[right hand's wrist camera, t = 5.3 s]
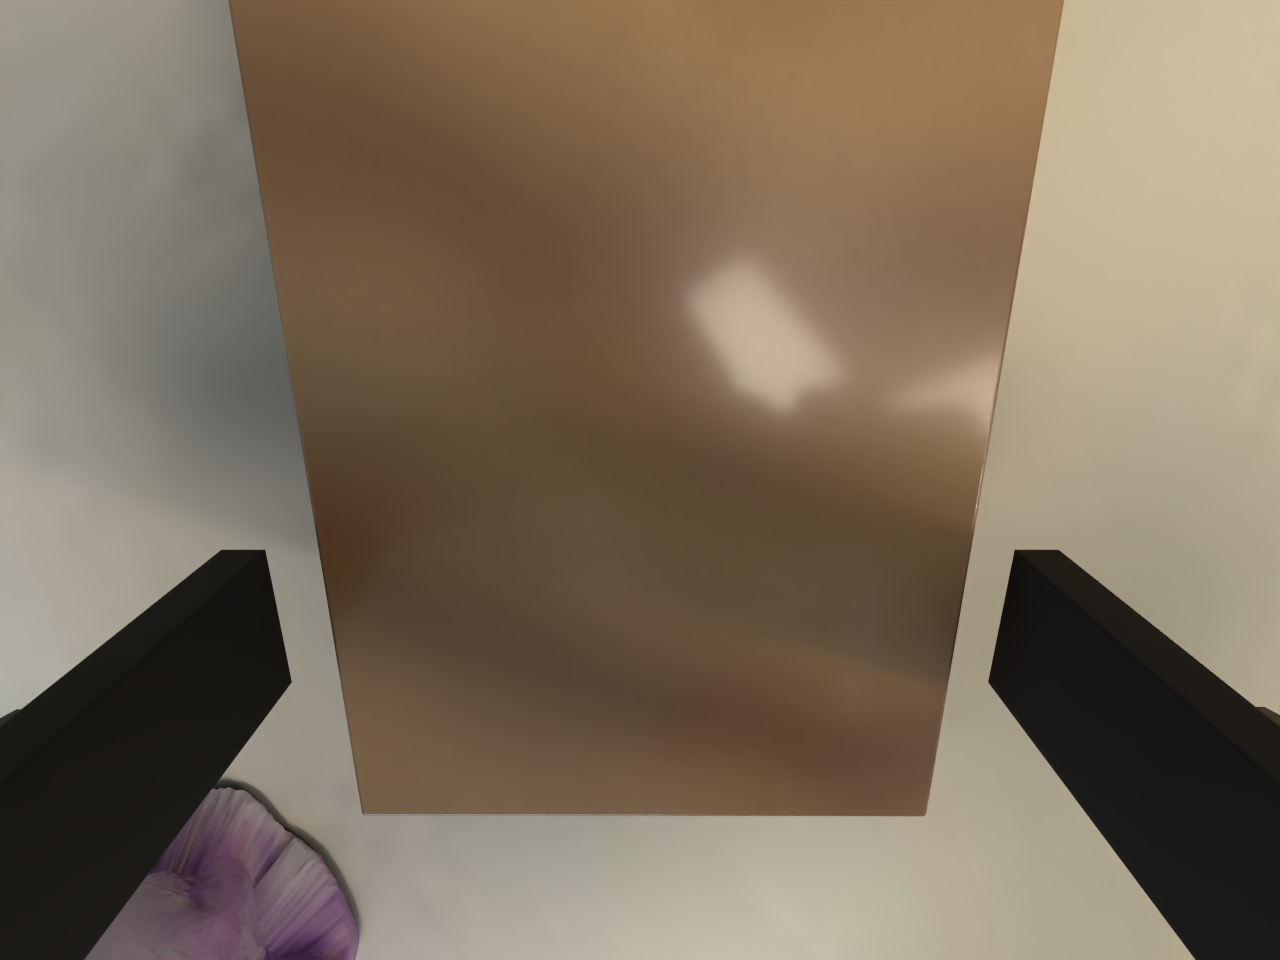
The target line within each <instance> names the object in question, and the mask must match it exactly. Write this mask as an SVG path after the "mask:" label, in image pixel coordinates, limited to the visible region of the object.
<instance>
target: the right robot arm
mask: <svg viewBox="0 0 1280 960" xmlns="http://www.w3.org/2000/svg"><path fill="white" fill-rule="evenodd" d="M291 683H292V681H291V676H290V671H289V666H288V661H287V656H286V651H285V646H284V641H283V636H282V631H281V626H280V621H279V616H278V611H277V606H276V601H275V596H274V591H273V586H272V581H271V576H270V571H269V566H268V561H267V556H266V551H265V550H221V551H219V552H218V553H217V554H216V555H214V556H213V557H212V558H211V559H209V560H208V561H207V562H206V563H204V564H203V565H202V566H201V567H199V568H198V569H197V570H196V571H194V572H193V573H192V574H191V575H189V576H188V577H187V578H186V579H184V580H183V581H182V582H181V583H179V584H178V585H177V586H176V587H174V588H173V589H172V590H171V591H169V592H168V593H167V594H166V595H164V596H163V597H162V598H161V599H159V600H158V601H157V602H155V603H154V604H153V605H152V606H150V607H149V608H148V609H147V610H145V611H144V612H143V613H142V614H140V615H139V616H138V617H137V618H135V619H134V620H133V621H132V622H130V623H129V624H128V625H127V626H125V627H124V628H123V629H122V630H120V631H119V632H118V633H117V634H115V635H114V636H113V637H112V638H110V639H109V640H108V641H107V642H105V643H104V644H103V645H102V646H100V647H99V648H98V649H97V650H95V651H94V652H93V653H92V654H90V655H89V656H88V657H87V658H85V659H84V660H83V661H82V662H80V663H79V664H78V665H76V666H75V667H74V668H73V669H71V670H70V671H69V672H68V673H66V674H65V675H64V676H63V677H61V678H60V679H59V680H58V681H56V682H55V683H54V684H53V685H51V686H50V687H49V688H48V689H46V690H45V691H44V692H43V693H41V694H40V695H39V696H38V697H36V698H35V699H34V700H33V701H31V702H30V703H29V704H28V705H26V706H25V707H24V708H23V709H21V710H15V711H13V712H11V713H9V714H7V715H5V716H3V717H2V718H0V960H85V958H86V957H87V956H88V954H89V953H90V952H91V950H92V949H93V948H94V946H95V945H96V944H97V942H98V941H99V939H100V938H101V937H102V935H103V934H104V933H105V931H106V930H107V929H108V927H109V926H110V925H111V923H112V922H113V921H114V919H115V918H116V917H117V915H118V914H119V913H120V911H121V910H122V909H123V907H124V906H125V905H126V903H127V902H128V901H129V899H130V898H131V897H132V895H133V894H134V893H135V891H136V890H137V889H138V887H139V886H140V885H141V883H142V882H143V881H144V879H145V878H146V877H147V875H148V874H149V873H150V871H151V870H152V869H153V867H154V866H155V865H156V863H157V862H158V861H159V859H160V858H161V857H162V855H163V854H164V852H165V851H166V850H167V848H168V847H169V846H170V844H171V843H172V842H173V840H174V839H175V838H176V836H177V835H178V834H179V832H180V831H181V830H182V828H183V827H184V826H185V824H186V823H187V822H188V820H189V819H190V818H191V816H192V815H193V814H194V812H195V811H196V810H197V808H198V807H199V806H200V804H201V803H202V802H203V800H204V799H205V798H206V796H207V795H208V794H209V792H210V791H211V790H212V788H213V787H214V786H215V784H216V783H217V782H218V780H219V779H220V778H221V776H222V775H223V774H224V772H225V771H226V770H227V768H228V767H229V766H230V764H231V763H232V761H233V760H234V759H235V757H236V756H237V755H238V753H239V752H240V751H241V749H242V748H243V747H244V745H245V744H246V743H247V741H248V740H249V739H250V737H251V736H252V735H253V733H254V732H255V731H256V729H257V728H258V727H259V725H260V724H261V723H262V721H263V720H264V719H265V717H266V716H267V715H268V713H269V712H270V711H271V709H272V708H273V707H274V705H275V704H276V703H277V701H278V700H279V699H280V697H281V696H282V695H283V693H284V692H285V691H286V689H287V688H288V687H289V685H290V684H291ZM988 683H989V684H990V685H991V687H992V688H993V689H994V691H995V692H996V693H997V695H998V696H999V697H1000V699H1001V700H1002V701H1003V703H1004V704H1005V705H1006V707H1007V708H1008V709H1009V711H1010V712H1011V713H1012V715H1013V716H1014V717H1015V719H1016V720H1017V721H1018V723H1019V724H1020V725H1021V727H1022V728H1023V729H1024V731H1025V732H1026V733H1027V735H1028V736H1029V737H1030V739H1031V740H1032V741H1033V743H1034V744H1035V745H1036V747H1037V748H1038V749H1039V751H1040V752H1041V753H1042V755H1043V756H1044V757H1045V759H1046V760H1047V761H1048V763H1049V764H1050V766H1051V767H1052V768H1053V770H1054V771H1055V772H1056V774H1057V775H1058V776H1059V778H1060V779H1061V780H1062V782H1063V783H1064V784H1065V786H1066V787H1067V788H1068V790H1069V791H1070V792H1071V794H1072V795H1073V796H1074V798H1075V799H1076V800H1077V802H1078V803H1079V804H1080V806H1081V807H1082V808H1083V810H1084V811H1085V812H1086V814H1087V815H1088V816H1089V818H1090V819H1091V820H1092V822H1093V823H1094V824H1095V826H1096V827H1097V828H1098V830H1099V831H1100V832H1101V834H1102V835H1103V836H1104V838H1105V839H1106V840H1107V842H1108V843H1109V844H1110V846H1111V847H1112V848H1113V850H1114V851H1115V852H1116V854H1117V855H1118V857H1119V858H1120V859H1121V861H1122V862H1123V863H1124V865H1125V866H1126V867H1127V869H1128V870H1129V871H1130V873H1131V874H1132V875H1133V877H1134V878H1135V879H1136V881H1137V882H1138V883H1139V885H1140V886H1141V887H1142V889H1143V890H1144V891H1145V893H1146V894H1147V895H1148V897H1149V898H1150V899H1151V901H1152V902H1153V903H1154V905H1155V906H1156V907H1157V909H1158V910H1159V911H1160V913H1161V914H1162V915H1163V917H1164V918H1165V919H1166V921H1167V922H1168V923H1169V925H1170V926H1171V927H1172V929H1173V930H1174V931H1175V933H1176V934H1177V935H1178V937H1179V938H1180V939H1181V941H1182V942H1183V944H1184V945H1185V946H1186V948H1187V949H1188V950H1189V952H1190V953H1191V954H1192V956H1193V957H1194V958H1195V960H1280V715H1279V714H1277V713H1275V712H1273V711H1271V710H1269V709H1267V708H1265V707H1255V706H1254V705H1252V704H1251V703H1250V702H1249V701H1247V700H1246V699H1245V698H1244V697H1242V696H1241V695H1240V694H1239V693H1237V692H1236V691H1235V690H1234V689H1232V688H1231V687H1230V686H1229V685H1227V684H1226V683H1225V682H1224V681H1222V680H1221V679H1220V678H1219V677H1217V676H1216V675H1215V674H1214V673H1212V672H1211V671H1210V670H1209V669H1207V668H1206V667H1205V666H1204V665H1202V664H1201V663H1200V662H1198V661H1197V660H1196V659H1195V658H1193V657H1192V656H1191V655H1190V654H1188V653H1187V652H1186V651H1185V650H1183V649H1182V648H1181V647H1180V646H1178V645H1177V644H1176V643H1175V642H1173V641H1172V640H1171V639H1170V638H1168V637H1167V636H1166V635H1165V634H1163V633H1162V632H1161V631H1160V630H1158V629H1157V628H1156V627H1155V626H1153V625H1152V624H1151V623H1150V622H1148V621H1147V620H1146V619H1145V618H1143V617H1142V616H1141V615H1140V614H1138V613H1137V612H1136V611H1135V610H1133V609H1132V608H1131V607H1130V606H1128V605H1127V604H1126V603H1125V602H1123V601H1122V600H1121V599H1119V598H1118V597H1117V596H1116V595H1114V594H1113V593H1112V592H1111V591H1109V590H1108V589H1107V588H1106V587H1104V586H1103V585H1102V584H1101V583H1099V582H1098V581H1097V580H1096V579H1094V578H1093V577H1092V576H1091V575H1089V574H1088V573H1087V572H1086V571H1084V570H1083V569H1082V568H1081V567H1079V566H1078V565H1077V564H1076V563H1074V562H1073V561H1072V560H1071V559H1069V558H1068V557H1067V556H1066V555H1064V554H1063V553H1062V552H1061V551H1059V550H1015V551H1014V556H1013V561H1012V566H1011V571H1010V576H1009V581H1008V586H1007V591H1006V596H1005V601H1004V606H1003V611H1002V616H1001V621H1000V626H999V631H998V636H997V641H996V646H995V651H994V656H993V661H992V666H991V671H990V676H989V681H988Z"/></svg>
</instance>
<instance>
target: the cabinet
mask: <svg viewBox="0 0 1280 960" xmlns="http://www.w3.org/2000/svg"><path fill="white" fill-rule="evenodd" d="M1063 3H1064V0H229V6H230V12H231V18H232V24H233V30H234V36H235V42H236V48H237V54H238V60H239V66H240V73H241V79H242V85H243V91H244V97H245V103H246V109H247V115H248V121H249V127H250V133H251V139H252V146H253V152H254V158H255V164H256V170H257V176H258V182H259V188H260V194H261V200H262V206H263V212H264V218H265V225H266V231H267V237H268V243H269V249H270V255H271V261H272V267H273V273H274V279H275V285H276V291H277V297H278V304H279V310H280V316H281V322H282V328H283V334H284V340H285V346H286V352H287V358H288V364H289V370H290V377H291V383H292V389H293V395H294V401H295V407H296V413H297V419H298V425H299V431H300V437H301V443H302V449H303V456H304V462H305V468H306V474H307V480H308V486H309V492H310V498H311V504H312V510H313V516H314V522H315V528H316V535H317V541H318V547H319V553H320V559H321V565H322V571H323V577H324V583H325V589H326V595H327V601H328V608H329V614H330V620H331V626H332V632H333V638H334V644H335V650H336V656H337V662H338V668H339V674H340V680H341V687H342V693H343V699H344V705H345V711H346V717H347V723H348V729H349V735H350V741H351V747H352V753H353V760H354V766H355V772H356V778H357V784H358V790H359V796H360V802H361V808H362V813H363V814H364V815H540V816H925V815H926V811H927V805H928V799H929V793H930V787H931V781H932V776H933V770H934V764H935V758H936V752H937V746H938V740H939V734H940V728H941V722H942V717H943V711H944V705H945V699H946V693H947V687H948V681H949V675H950V669H951V663H952V658H953V652H954V646H955V640H956V634H957V628H958V622H959V616H960V610H961V604H962V599H963V593H964V587H965V581H966V575H967V569H968V563H969V557H970V551H971V546H972V540H973V534H974V528H975V522H976V516H977V510H978V504H979V498H980V492H981V487H982V481H983V475H984V469H985V463H986V457H987V451H988V445H989V439H990V433H991V428H992V422H993V416H994V410H995V404H996V398H997V392H998V386H999V380H1000V374H1001V369H1002V363H1003V357H1004V351H1005V345H1006V339H1007V333H1008V327H1009V321H1010V315H1011V310H1012V304H1013V298H1014V292H1015V286H1016V280H1017V274H1018V268H1019V262H1020V257H1021V251H1022V245H1023V239H1024V233H1025V227H1026V221H1027V215H1028V209H1029V203H1030V198H1031V192H1032V186H1033V180H1034V174H1035V168H1036V162H1037V156H1038V150H1039V144H1040V139H1041V133H1042V127H1043V121H1044V115H1045V109H1046V103H1047V97H1048V91H1049V85H1050V80H1051V74H1052V68H1053V62H1054V56H1055V50H1056V44H1057V38H1058V32H1059V26H1060V21H1061V15H1062V9H1063Z"/></svg>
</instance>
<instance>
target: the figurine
mask: <svg viewBox="0 0 1280 960" xmlns="http://www.w3.org/2000/svg"><path fill="white" fill-rule="evenodd" d="M358 945H359V934H358V924H357V923H356V921H355V920H354V918H353V915H352V913H351V911H350V908H349V906H348V903H347V901H346V899H345V897H344V895H343V892H342V890H341V888H340V886H339V884H338V882H337V880H336V878H335V877H334V875H333V874H332V872H331V871H330V869H329V868H328V866H327V865H326V863H325V862H324V861H323V856H322V855H321V854H319V853H316V852H314V851H313V850H312V849H311V848H310V847H309V846H308V845H306V844H305V843H304V842H303V841H302V840H300V839H299V838H297V837H296V836H294V835H293V834H292V833H291V832H288V831H285V829H284V828H283V827H282V826H281V825H280V824H279V823H278V822H277V821H275V820H274V818H273V816H272V814H271V813H269V812H268V811H267V810H266V808H265V806H264V805H262V804H261V803H259V802H258V801H256V800H255V799H254V798H253V797H252V796H251V795H250V794H249V793H248V792H246V791H244V790H237V791H236V790H234V789H232V788H230V787H228V788H226V789H224V788H219V789H217V790H216V789H214V788H213V789H212V790H211V791H210V792H209V794H208V795H207V796H206V798H205V799H204V800H203V802H202V803H201V804H200V806H199V807H198V808H197V810H196V811H195V812H194V814H193V815H192V816H191V818H190V819H189V820H188V822H187V823H186V824H185V826H184V827H183V828H182V830H181V831H180V832H179V834H178V835H177V836H176V838H175V839H174V840H173V842H172V843H171V844H170V846H169V847H168V848H167V850H166V851H165V852H164V854H163V855H162V857H161V858H160V859H159V861H158V862H157V863H156V865H155V866H154V867H153V869H152V870H151V871H150V873H149V874H148V875H147V877H146V878H145V879H144V881H143V882H142V883H141V885H140V886H139V887H138V889H137V890H136V891H135V893H134V894H133V895H132V897H131V898H130V899H129V901H128V902H127V903H126V905H125V906H124V907H123V909H122V910H121V911H120V913H119V914H118V915H117V917H116V918H115V919H114V921H113V922H112V923H111V925H110V926H109V927H108V929H107V930H106V931H105V933H104V934H103V935H102V937H101V938H100V939H99V941H98V942H97V944H96V945H95V946H94V948H93V949H92V950H91V952H90V953H89V954H88V956H87V957H86V958H85V960H355V958H356V954H357V950H358Z"/></svg>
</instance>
